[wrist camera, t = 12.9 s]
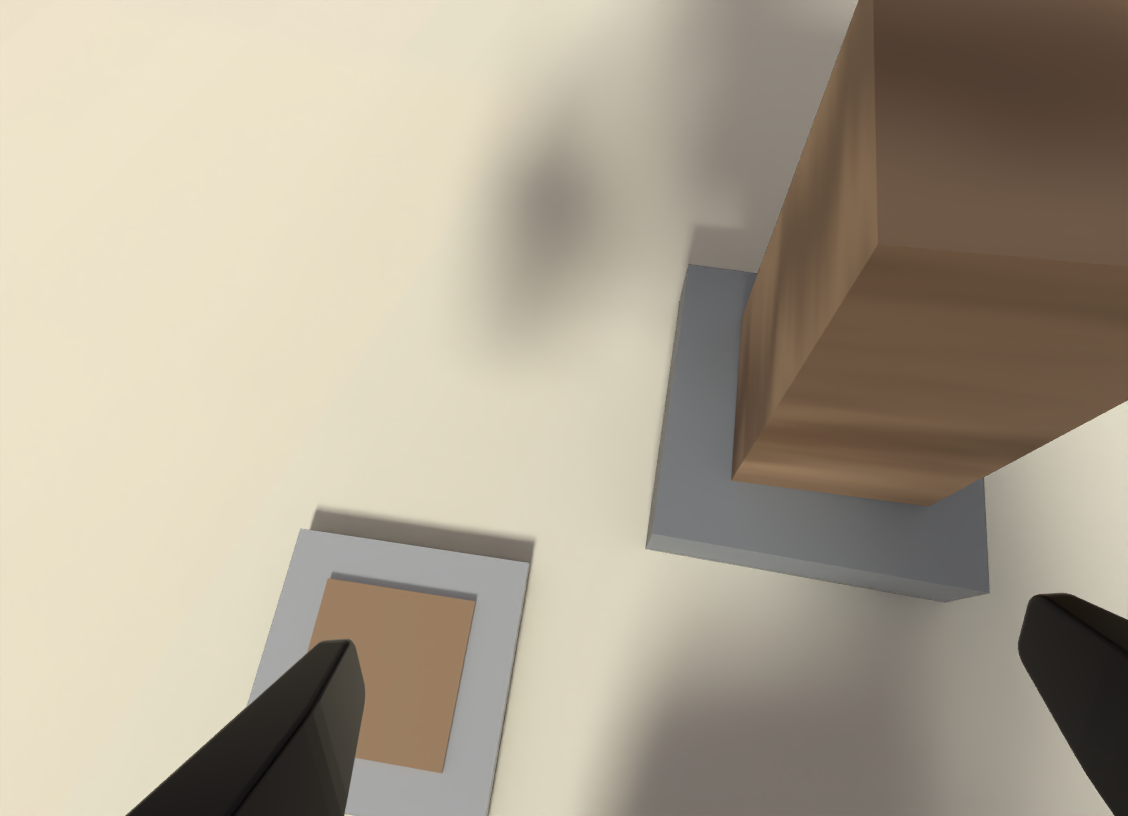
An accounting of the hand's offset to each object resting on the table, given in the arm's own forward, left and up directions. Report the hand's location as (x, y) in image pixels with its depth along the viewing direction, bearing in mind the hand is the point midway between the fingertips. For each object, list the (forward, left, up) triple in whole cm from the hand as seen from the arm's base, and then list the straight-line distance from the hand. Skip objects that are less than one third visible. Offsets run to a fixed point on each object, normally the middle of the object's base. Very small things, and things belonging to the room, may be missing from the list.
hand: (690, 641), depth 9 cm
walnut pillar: (+9, -5, -11) cm, 15 cm away
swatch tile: (-1, +8, -14) cm, 16 cm away
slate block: (+9, -5, -14) cm, 17 cm away
